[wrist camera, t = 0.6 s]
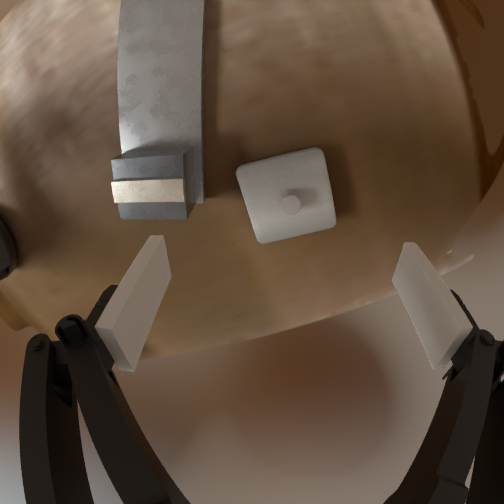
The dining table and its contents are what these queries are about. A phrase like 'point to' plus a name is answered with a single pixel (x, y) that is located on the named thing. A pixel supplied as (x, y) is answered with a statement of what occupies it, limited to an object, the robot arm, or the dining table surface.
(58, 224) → the dining table surface
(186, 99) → the rail
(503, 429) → the robot arm
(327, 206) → the grey cover with knob
